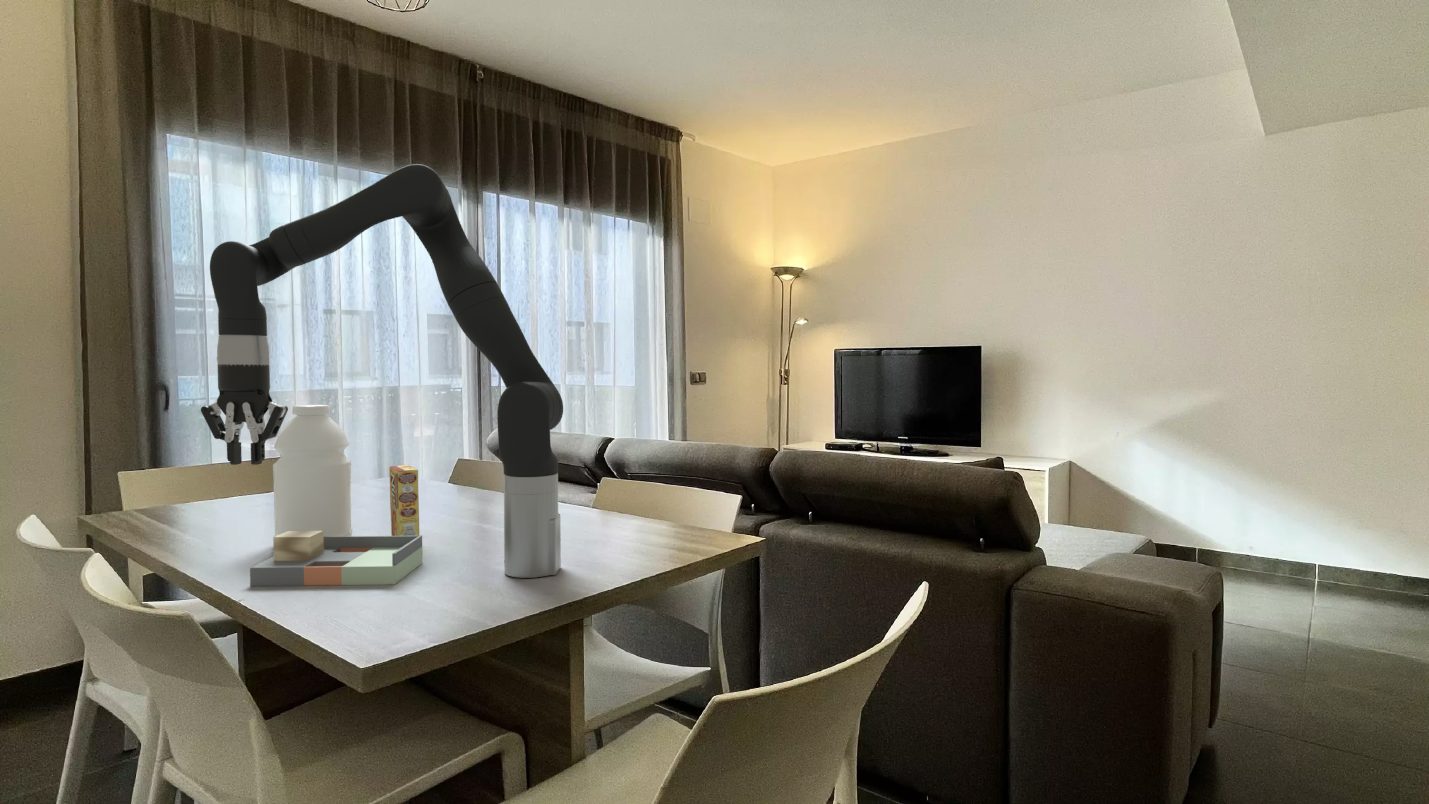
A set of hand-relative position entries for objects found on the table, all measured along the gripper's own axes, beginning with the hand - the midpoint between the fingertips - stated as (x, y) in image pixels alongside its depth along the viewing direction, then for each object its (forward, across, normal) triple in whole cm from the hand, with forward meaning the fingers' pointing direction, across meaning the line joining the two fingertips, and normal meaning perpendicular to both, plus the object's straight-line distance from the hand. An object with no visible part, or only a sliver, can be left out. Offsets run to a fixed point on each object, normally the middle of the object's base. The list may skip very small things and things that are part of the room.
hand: (246, 463), depth 130 cm
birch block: (+16, -8, 0) cm, 18 cm away
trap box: (+19, -16, 0) cm, 25 cm away
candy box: (+19, -18, -24) cm, 36 cm away
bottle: (+19, 0, -24) cm, 31 cm away
